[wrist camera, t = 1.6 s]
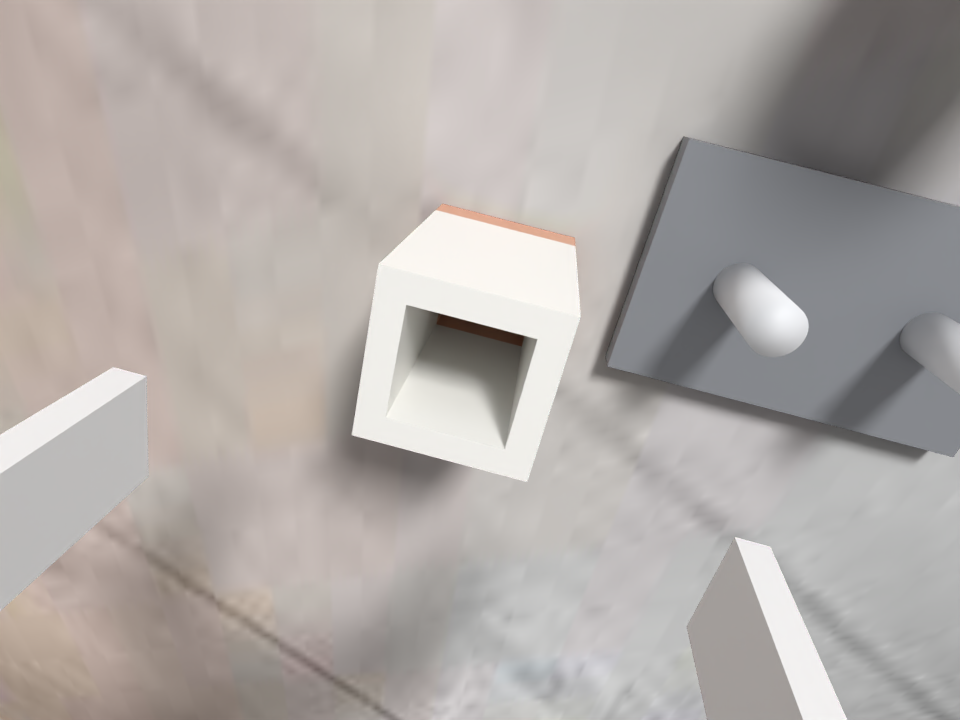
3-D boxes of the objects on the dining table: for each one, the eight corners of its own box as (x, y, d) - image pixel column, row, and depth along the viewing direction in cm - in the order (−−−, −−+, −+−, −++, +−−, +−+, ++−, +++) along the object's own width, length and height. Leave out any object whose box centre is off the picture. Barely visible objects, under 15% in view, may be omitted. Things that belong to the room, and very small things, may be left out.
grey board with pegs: (605, 355, 28) (616, 422, 22) (683, 136, 24) (720, 151, 18) (938, 442, 28) (1032, 532, 22) (1078, 236, 23) (1239, 282, 18)
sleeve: (418, 326, 29) (351, 435, 20) (442, 203, 26) (378, 264, 17) (538, 358, 29) (527, 482, 20) (574, 238, 26) (580, 316, 17)
